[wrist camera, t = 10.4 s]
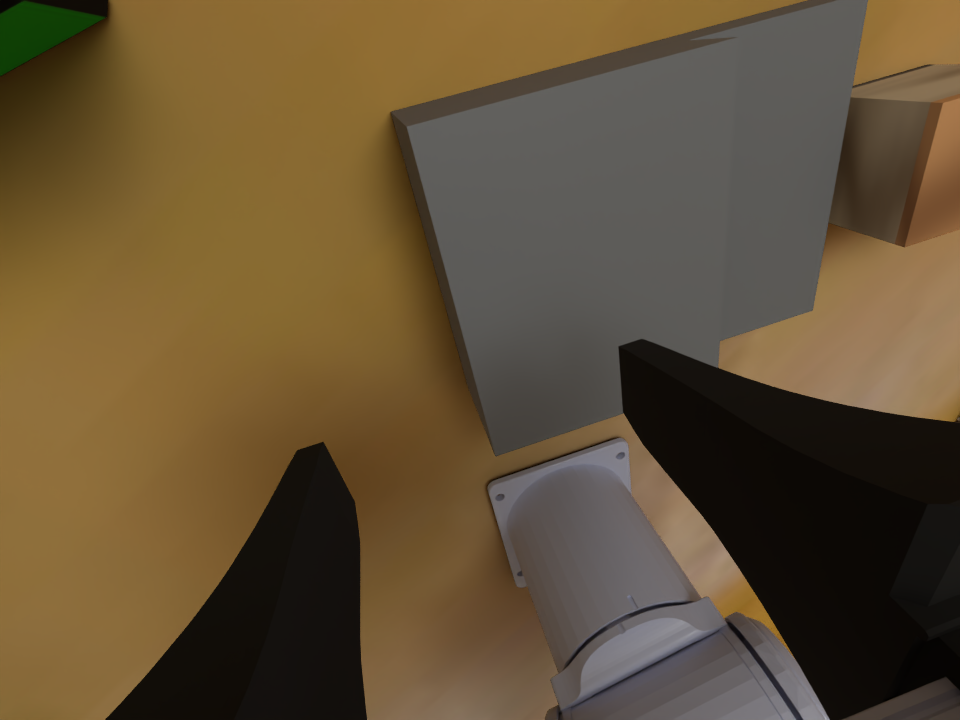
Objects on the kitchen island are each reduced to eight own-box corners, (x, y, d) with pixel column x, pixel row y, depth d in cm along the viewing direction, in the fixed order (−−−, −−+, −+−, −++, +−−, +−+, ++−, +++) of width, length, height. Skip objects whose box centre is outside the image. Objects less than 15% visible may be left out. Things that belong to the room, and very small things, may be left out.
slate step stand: (774, 290, 25) (858, 334, 21) (468, 389, 23) (495, 456, 19) (811, -1, 18) (944, -19, 14) (390, 111, 17) (406, 126, 13)
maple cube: (904, 247, 19) (802, 214, 23) (1017, 210, 19) (896, 184, 23) (943, 103, 16) (819, 95, 20) (1073, 64, 17) (925, 64, 21)
